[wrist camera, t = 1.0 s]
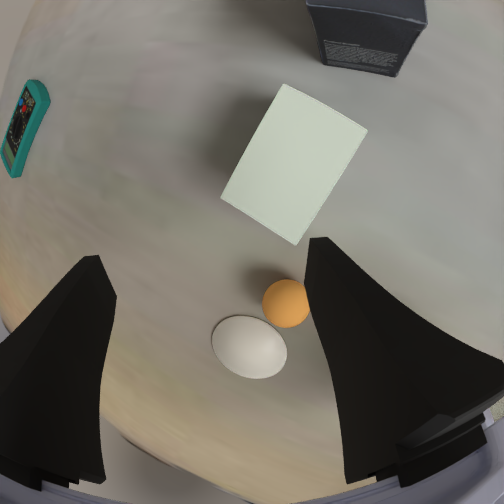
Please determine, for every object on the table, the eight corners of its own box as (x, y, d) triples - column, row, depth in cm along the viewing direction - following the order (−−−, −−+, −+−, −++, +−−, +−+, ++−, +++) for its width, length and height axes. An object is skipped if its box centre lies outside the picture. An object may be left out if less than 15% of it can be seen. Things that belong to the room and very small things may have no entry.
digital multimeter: (55, 98, 28) (39, 97, 25) (22, 178, 34) (8, 181, 31) (41, 76, 27) (26, 75, 25) (10, 151, 34) (-3, 153, 31)
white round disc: (302, 345, 27) (302, 346, 26) (262, 388, 30) (261, 389, 30) (233, 300, 27) (232, 301, 27) (201, 350, 31) (201, 351, 30)
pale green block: (361, 138, 20) (368, 130, 15) (305, 227, 23) (295, 246, 18) (296, 100, 20) (283, 83, 15) (246, 189, 24) (220, 197, 19)
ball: (322, 288, 24) (317, 311, 21) (297, 320, 26) (289, 345, 22) (283, 263, 25) (272, 281, 21) (260, 297, 26) (247, 318, 23)
